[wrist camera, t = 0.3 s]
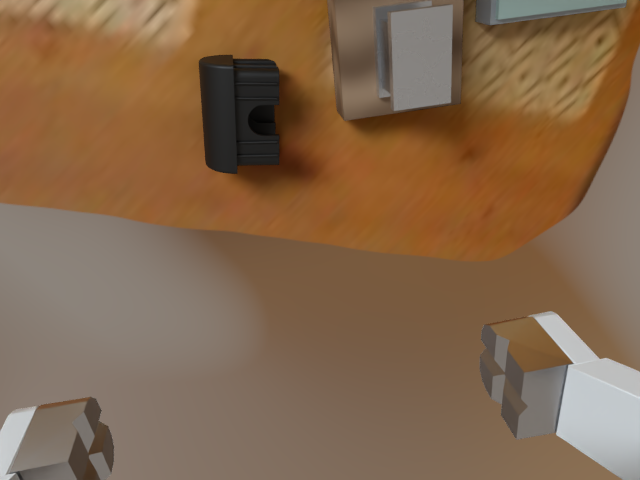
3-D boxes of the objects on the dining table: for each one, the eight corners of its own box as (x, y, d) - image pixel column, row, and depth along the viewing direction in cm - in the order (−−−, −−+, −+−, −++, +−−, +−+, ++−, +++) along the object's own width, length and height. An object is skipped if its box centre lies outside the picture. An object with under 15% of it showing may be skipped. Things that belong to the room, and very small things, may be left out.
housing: (372, 6, 47) (390, 12, 42) (427, -1, 48) (452, 4, 43) (376, 95, 51) (393, 111, 46) (428, 88, 52) (450, 102, 47)
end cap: (200, 52, 51) (196, 65, 45) (273, 53, 52) (279, 65, 46) (206, 152, 55) (204, 175, 50) (274, 151, 57) (279, 173, 51)
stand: (326, -15, 50) (333, -14, 46) (447, -30, 51) (464, -30, 47) (336, 110, 55) (344, 120, 52) (446, 94, 57) (460, 103, 53)
